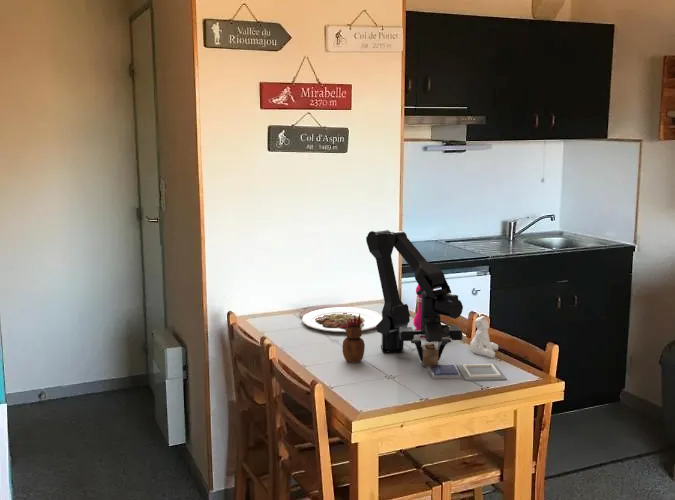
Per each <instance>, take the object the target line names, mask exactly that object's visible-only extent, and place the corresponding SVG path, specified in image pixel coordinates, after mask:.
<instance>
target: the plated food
mask: <svg viewBox="0 0 675 500" xmlns="http://www.w3.org/2000/svg"><path fill="white" fill-rule="evenodd" d="M343 313H347V314H343ZM350 314H352V315H350ZM359 314H360V328H361V330H362V331H367V330H371V329H374V328H376V325H377V324H378V323H379V322H380V321H381V320H382V313H380V312H377V311H376V310H372V309H371V310H370V309H366V308H360V307H349V306H347V307H346V306H342V307H341V306H339V307H325V308H320V309H316V310H312V311H309V312H307V313H305V314H304V315H303V316H302V319H301V320H302V323H303V324H304V325H306V326H308V327H309V328H312V329H315V330H319V331H324V332H325V331H326V332H331V333H346V328H347V327H348V322H350V324H351V319H352V321H353V322H354V315H355V318H356V323H357V321H358V317H359ZM324 315H328V316H327V317H325V318H322V319H320V320H319V319H317V320H315V319H316V318H318V317H323V316H324Z"/></svg>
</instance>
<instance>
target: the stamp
mask: <svg viewBox="0 0 675 500" xmlns="http://www.w3.org/2000/svg"><path fill="white" fill-rule="evenodd" d="M437 347H438V345H437V344H435V342H426V343H425V344H421V348H422V361H421V360H420V362H421V365H422V366H423V368H428V367H429V366H430V365H439V361H438V353H439V349H438V348H437Z"/></svg>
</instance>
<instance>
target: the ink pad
mask: <svg viewBox="0 0 675 500" xmlns="http://www.w3.org/2000/svg"><path fill="white" fill-rule="evenodd" d="M427 368H428V371H429V373H430V375H431V377H432V379H433V380H435V379H436V380H437V379H439V380H441V379H462V378H461V377H462V374H461V372H460V371H459V369H458V367H457V365H455V364H438V365H430V366H429V367H427Z"/></svg>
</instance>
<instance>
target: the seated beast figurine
mask: <svg viewBox="0 0 675 500" xmlns="http://www.w3.org/2000/svg"><path fill="white" fill-rule="evenodd" d="M474 323H475V327H476V328H477V330H476V331H475V335H474V337H473V338H472V340H471V341H470V343H469V348H470V350H471V352H473V353H474V354H477V355H480V356H483V357H486V358H490V359H493V358H495V356H496V352H495V351H499V344H497V343H495V342H493V341H492V342H491V340H490V335H489V329H490V325H489V321H488V320H487V318H486V316H485V315H481V316H477V318H476V319H475V321H474Z"/></svg>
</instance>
